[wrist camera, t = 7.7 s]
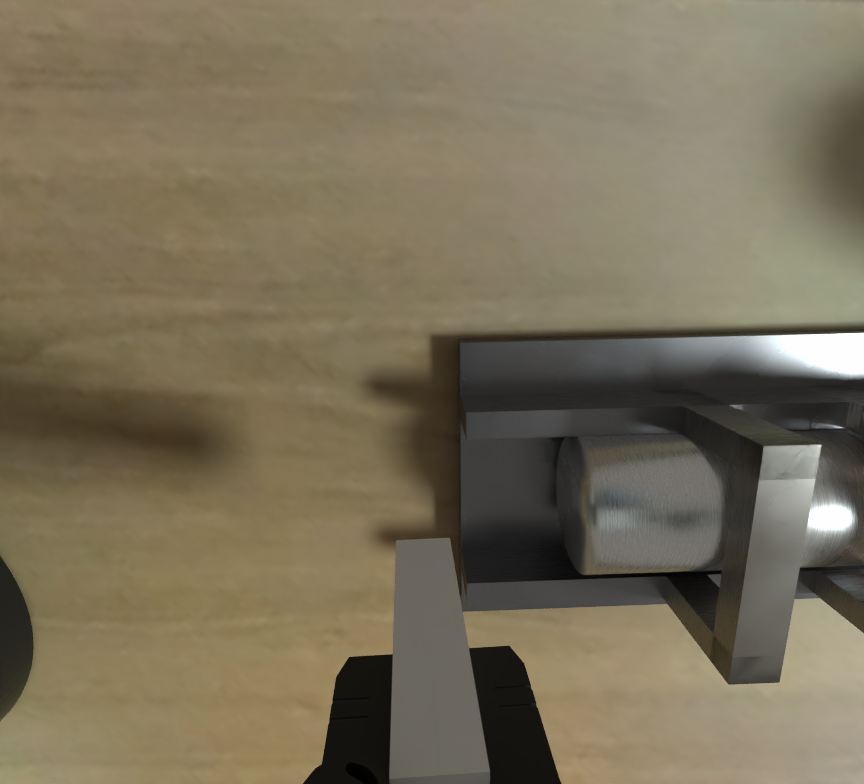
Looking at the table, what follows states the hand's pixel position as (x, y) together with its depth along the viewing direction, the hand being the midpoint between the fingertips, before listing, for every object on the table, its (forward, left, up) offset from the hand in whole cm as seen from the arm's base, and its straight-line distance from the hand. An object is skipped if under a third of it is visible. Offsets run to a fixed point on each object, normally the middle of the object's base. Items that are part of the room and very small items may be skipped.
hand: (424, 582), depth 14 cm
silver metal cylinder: (+13, 0, -7) cm, 14 cm away
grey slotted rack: (+12, 0, -8) cm, 14 cm away
